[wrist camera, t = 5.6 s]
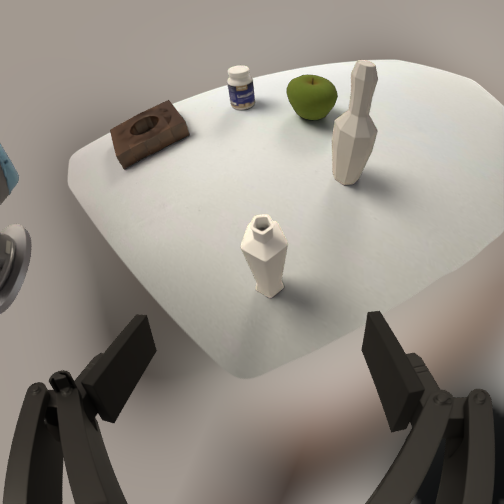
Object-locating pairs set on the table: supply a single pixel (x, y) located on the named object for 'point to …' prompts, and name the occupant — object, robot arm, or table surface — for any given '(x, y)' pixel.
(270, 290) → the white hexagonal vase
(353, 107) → the faceted bottle
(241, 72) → the pill bottle
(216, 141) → the table surface
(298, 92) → the apple
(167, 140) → the hole plate
